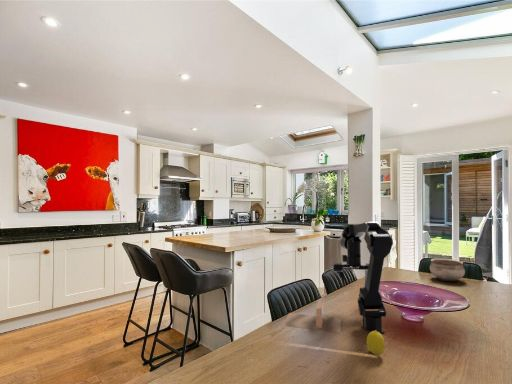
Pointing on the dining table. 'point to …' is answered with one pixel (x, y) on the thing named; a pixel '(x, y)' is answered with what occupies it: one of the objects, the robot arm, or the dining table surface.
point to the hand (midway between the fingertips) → (354, 286)
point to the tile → (319, 314)
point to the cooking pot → (447, 269)
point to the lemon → (375, 343)
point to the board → (312, 322)
